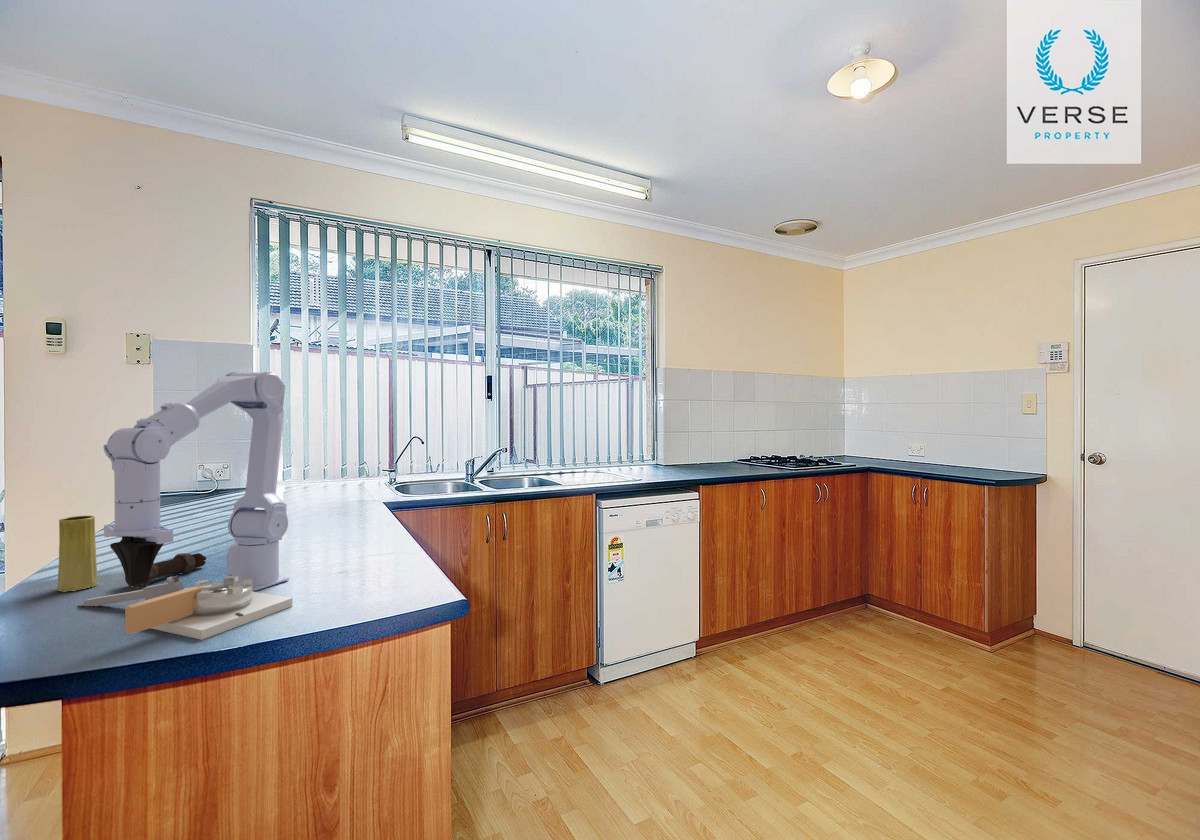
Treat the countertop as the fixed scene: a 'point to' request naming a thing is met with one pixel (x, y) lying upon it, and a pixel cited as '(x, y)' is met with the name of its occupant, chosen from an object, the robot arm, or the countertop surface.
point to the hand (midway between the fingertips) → (138, 583)
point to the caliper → (138, 593)
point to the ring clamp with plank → (189, 603)
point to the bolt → (174, 566)
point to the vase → (77, 553)
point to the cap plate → (226, 617)
